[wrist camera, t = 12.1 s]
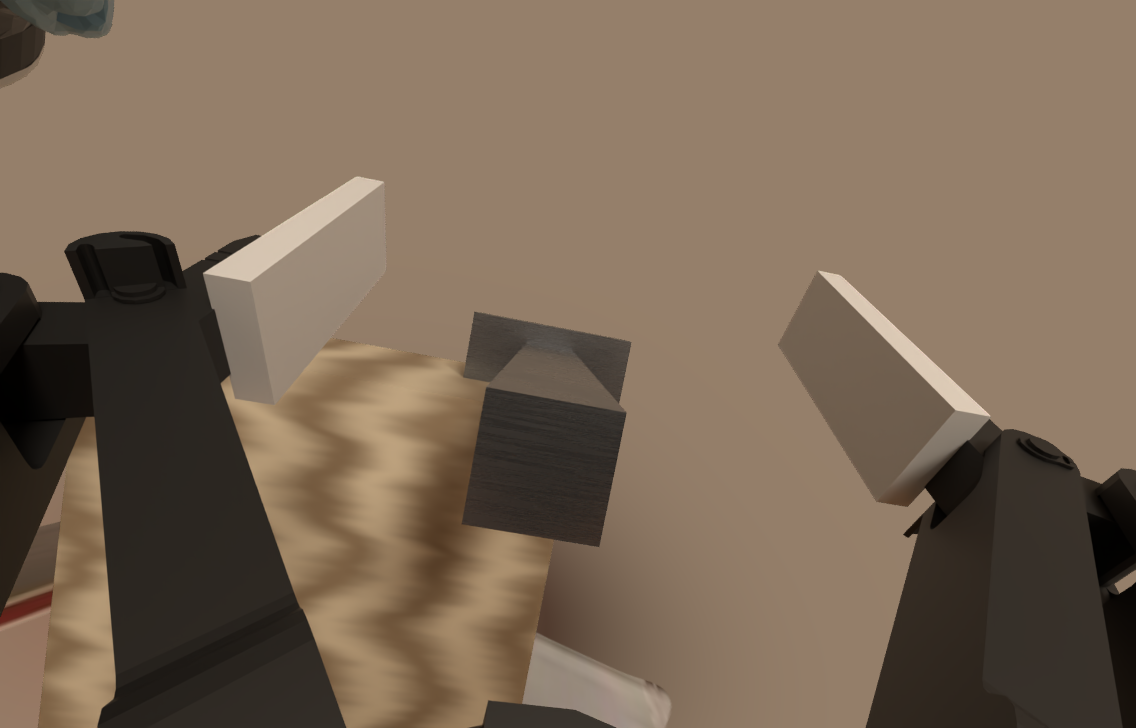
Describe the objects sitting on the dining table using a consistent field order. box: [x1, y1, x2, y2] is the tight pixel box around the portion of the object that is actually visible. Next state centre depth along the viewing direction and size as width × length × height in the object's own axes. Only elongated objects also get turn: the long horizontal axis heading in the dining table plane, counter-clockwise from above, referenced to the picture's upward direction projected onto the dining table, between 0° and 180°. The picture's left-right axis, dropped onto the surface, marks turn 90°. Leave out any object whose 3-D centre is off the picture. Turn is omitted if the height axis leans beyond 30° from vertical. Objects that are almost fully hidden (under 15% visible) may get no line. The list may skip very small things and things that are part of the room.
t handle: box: [462, 312, 631, 547], centre depth 26 cm, size 12×30×5 cm, turn 3°
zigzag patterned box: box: [38, 338, 554, 728], centre depth 39 cm, size 28×20×30 cm
